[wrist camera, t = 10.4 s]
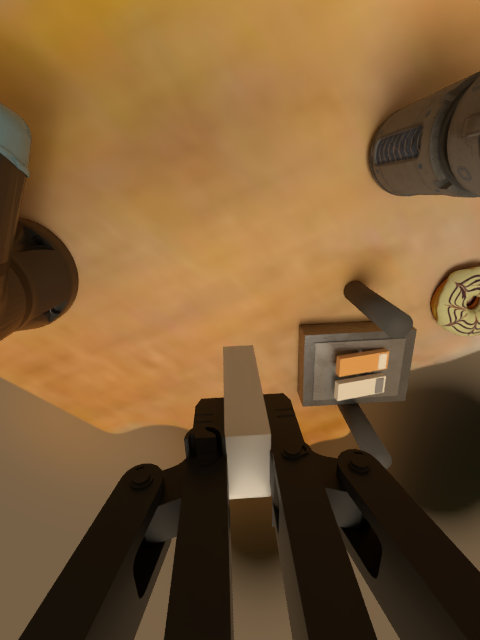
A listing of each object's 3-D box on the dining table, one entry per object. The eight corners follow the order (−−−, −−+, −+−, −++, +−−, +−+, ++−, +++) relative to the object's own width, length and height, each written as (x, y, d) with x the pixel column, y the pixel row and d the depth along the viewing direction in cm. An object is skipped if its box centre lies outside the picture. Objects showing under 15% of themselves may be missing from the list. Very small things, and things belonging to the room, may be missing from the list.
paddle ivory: (333, 397, 49) (337, 401, 48) (335, 380, 48) (339, 384, 47) (379, 388, 50) (384, 392, 49) (381, 372, 49) (386, 376, 48)
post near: (342, 300, 50) (383, 339, 37) (344, 281, 49) (386, 313, 36) (362, 299, 50) (410, 338, 37) (364, 280, 49) (414, 312, 36)
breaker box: (297, 392, 55) (303, 409, 51) (299, 324, 51) (306, 337, 46) (394, 386, 55) (408, 403, 51) (403, 319, 51) (420, 331, 47)
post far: (335, 407, 57) (367, 472, 43) (336, 392, 55) (369, 453, 42) (352, 406, 57) (390, 470, 44) (354, 391, 56) (393, 452, 42)
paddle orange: (335, 373, 47) (339, 377, 46) (336, 356, 46) (341, 359, 45) (382, 365, 49) (387, 369, 48) (384, 348, 48) (390, 351, 47)
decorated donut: (435, 263, 48) (451, 268, 45) (507, 262, 49) (529, 268, 45) (421, 329, 52) (435, 339, 49) (488, 328, 52) (507, 338, 49)
